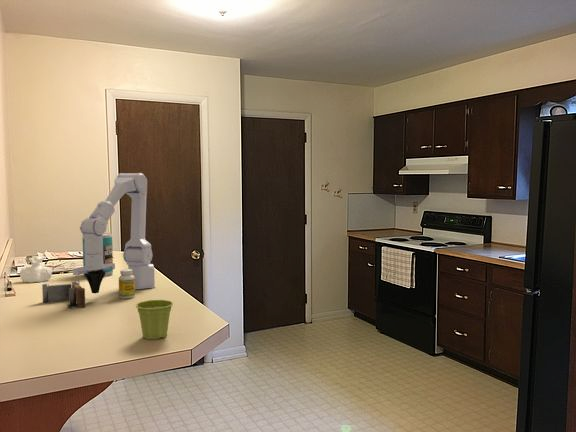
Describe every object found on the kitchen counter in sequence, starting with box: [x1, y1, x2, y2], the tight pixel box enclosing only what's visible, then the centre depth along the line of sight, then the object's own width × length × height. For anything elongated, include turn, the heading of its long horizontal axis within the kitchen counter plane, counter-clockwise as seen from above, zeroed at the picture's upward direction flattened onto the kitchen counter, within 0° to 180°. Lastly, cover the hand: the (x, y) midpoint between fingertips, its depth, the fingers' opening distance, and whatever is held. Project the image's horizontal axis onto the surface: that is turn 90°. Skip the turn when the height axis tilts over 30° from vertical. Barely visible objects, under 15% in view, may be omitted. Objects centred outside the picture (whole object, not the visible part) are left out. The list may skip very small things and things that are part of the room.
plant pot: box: [135, 299, 174, 340], centre depth 125 cm, size 9×9×9 cm
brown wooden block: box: [74, 283, 86, 308], centre depth 159 cm, size 12×2×6 cm, turn 32°
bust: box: [19, 255, 53, 284], centre depth 197 cm, size 12×8×11 cm
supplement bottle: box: [118, 268, 136, 299], centre depth 169 cm, size 5×5×10 cm
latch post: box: [66, 288, 80, 310], centre depth 155 cm, size 3×3×6 cm
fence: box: [41, 280, 81, 304], centre depth 164 cm, size 12×2×6 cm, turn 119°
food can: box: [82, 232, 114, 278], centre depth 209 cm, size 12×12×18 cm
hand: (95, 292), depth 163 cm, fingers closed
